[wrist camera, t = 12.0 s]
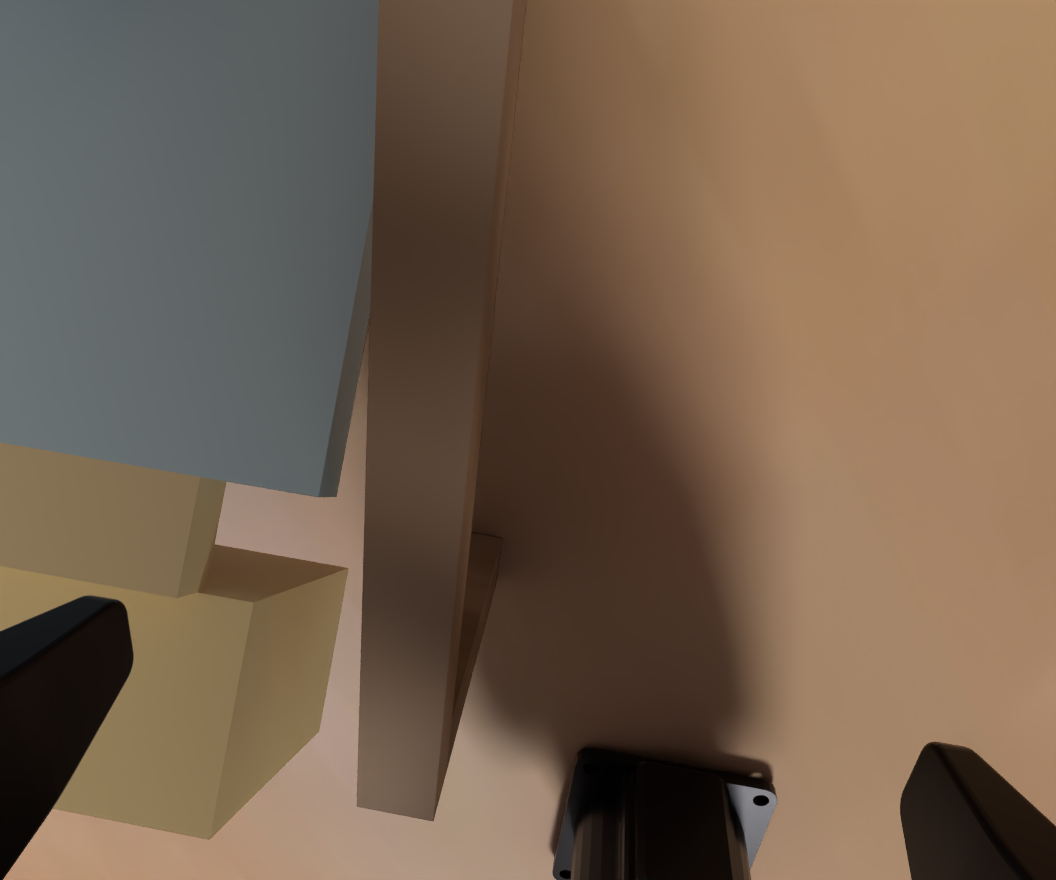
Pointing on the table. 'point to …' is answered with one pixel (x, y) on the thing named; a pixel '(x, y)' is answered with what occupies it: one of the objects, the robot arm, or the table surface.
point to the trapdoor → (182, 362)
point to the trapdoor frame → (430, 380)
